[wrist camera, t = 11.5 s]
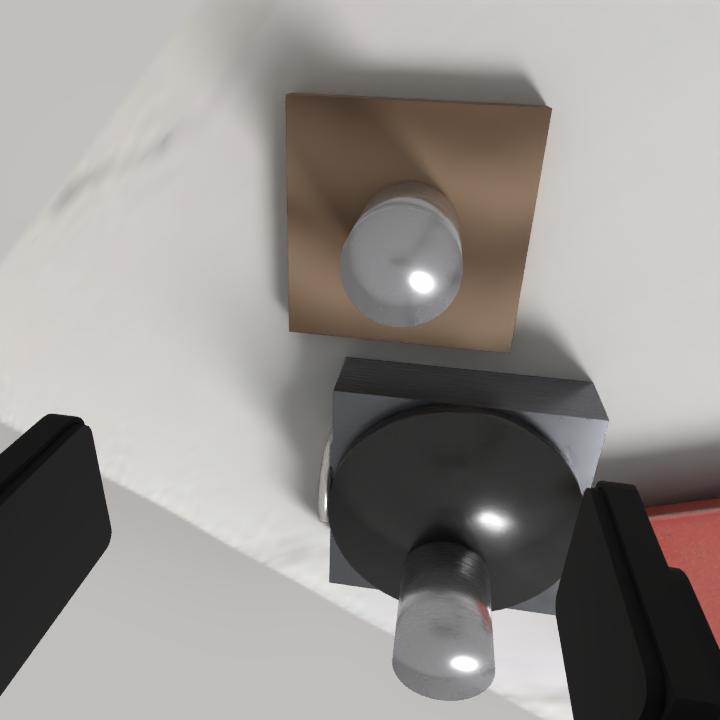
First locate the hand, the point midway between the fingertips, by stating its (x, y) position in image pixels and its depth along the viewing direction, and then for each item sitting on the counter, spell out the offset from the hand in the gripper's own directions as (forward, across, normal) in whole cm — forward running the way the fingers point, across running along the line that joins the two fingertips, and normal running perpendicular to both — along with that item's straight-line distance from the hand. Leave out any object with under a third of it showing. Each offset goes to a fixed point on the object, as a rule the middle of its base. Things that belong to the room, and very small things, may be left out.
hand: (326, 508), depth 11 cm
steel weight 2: (+17, -4, +19) cm, 26 cm away
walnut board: (+22, 0, 0) cm, 22 cm away
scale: (+22, -4, +15) cm, 27 cm away
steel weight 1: (+21, 0, 0) cm, 21 cm away
